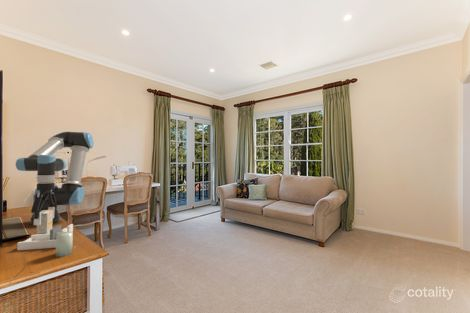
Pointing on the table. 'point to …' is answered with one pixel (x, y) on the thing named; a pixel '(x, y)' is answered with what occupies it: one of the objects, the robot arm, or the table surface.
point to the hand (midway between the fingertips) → (44, 221)
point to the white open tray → (41, 241)
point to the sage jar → (64, 243)
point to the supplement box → (45, 222)
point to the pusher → (55, 232)
